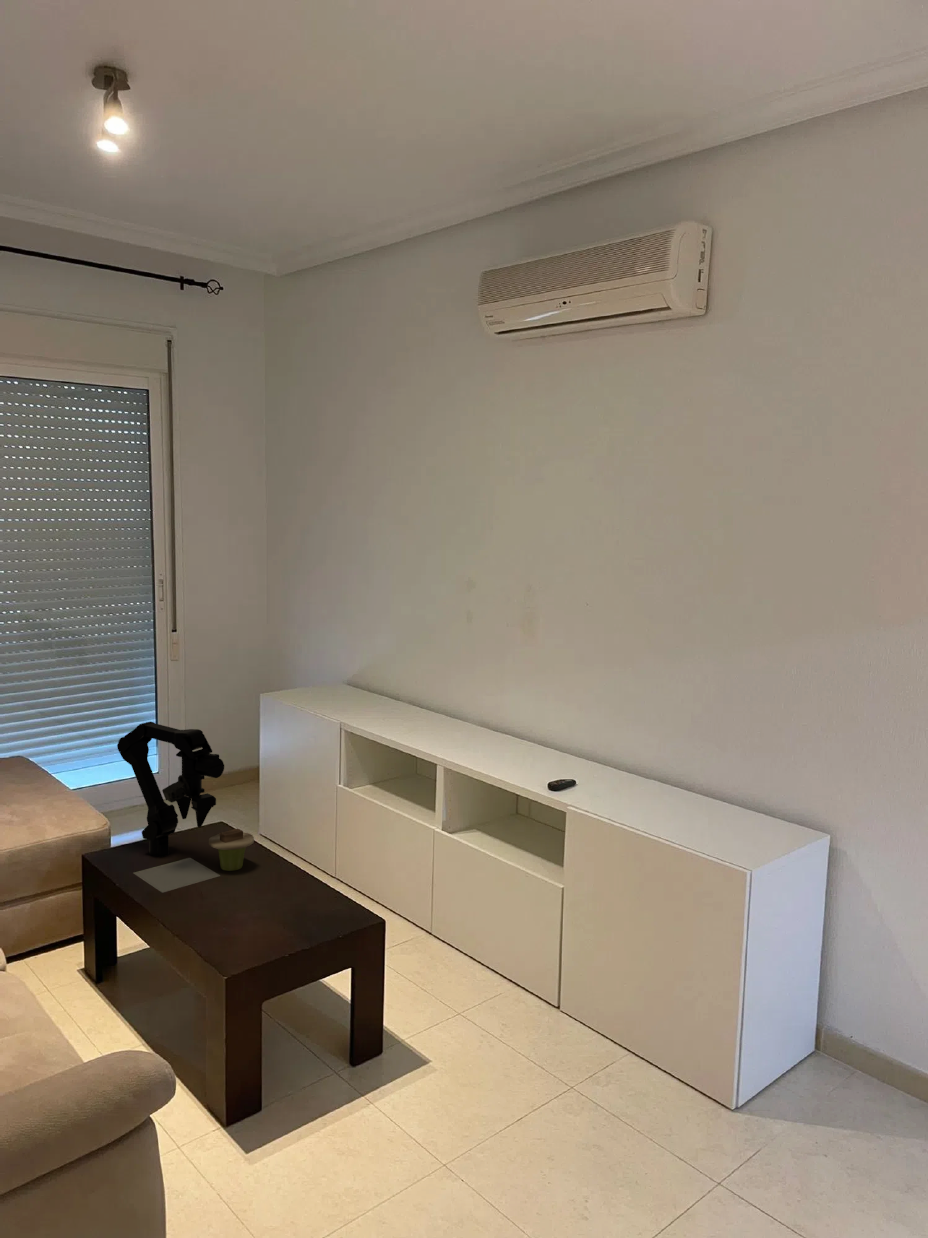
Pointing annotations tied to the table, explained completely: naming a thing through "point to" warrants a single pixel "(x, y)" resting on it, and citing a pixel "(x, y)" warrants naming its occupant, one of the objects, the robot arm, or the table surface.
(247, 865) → the table surface
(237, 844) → the lid
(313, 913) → the table surface
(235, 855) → the plant pot
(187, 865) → the mat
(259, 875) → the table surface
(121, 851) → the table surface
